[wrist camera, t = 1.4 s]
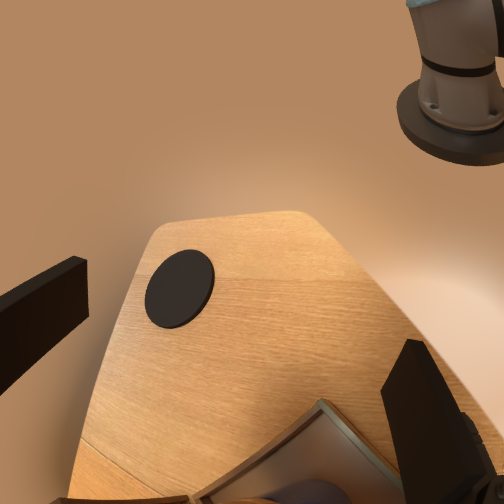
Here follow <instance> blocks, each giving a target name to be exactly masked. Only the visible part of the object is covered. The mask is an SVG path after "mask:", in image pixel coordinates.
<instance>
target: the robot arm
mask: <svg viewBox="0 0 504 504" xmlns="http://www.w3.org/2000/svg"><path fill="white" fill-rule="evenodd" d="M406 5H407V7H408V8H409V11H410V14H411V18H412V21H413V25H414V29H415V32H416V36H417V40H418V44H419V48H420V53H421V58H422V63H423V65H422V71H421V77H420V83H419V89H418V102H419V108H420V110H421V112H422V114H423V115H424V117H425V118H426V119H427V120H429V121H430V122H431V123H433V124H434V125H436V126H438V127H440V128H442V129H444V130H447V131H450V132H453V133H457V134H463V135H485V134H489V133H492V132H495V131H497V130H498V129H500V128H501V127H502V126H503V125H504V92H503V90H502V86H501V83H500V80H499V77H498V75H497V72H496V65H495V56H497V57H503V58H504V0H406ZM88 317H89V309H88V282H87V260H86V259H83V258H80V257H77V256H72V257H70V258H68V259H66V260H64V261H62V262H61V263H59V264H57V265H55V266H53V267H51V268H50V269H48V270H46V271H44V272H42V273H40V274H38V275H36V276H35V277H33V278H31V279H29V280H28V281H26V282H24V283H22V284H20V285H19V286H17V287H15V288H13V289H12V290H10V291H8V292H7V293H5V294H3V295H2V296H0V396H1V395H2V394H3V393H4V392H5V391H6V390H7V389H8V388H9V387H10V386H11V385H12V384H13V383H14V382H15V381H16V380H17V379H19V378H20V377H21V376H22V375H23V374H24V373H25V372H26V371H27V370H28V369H30V368H31V367H32V366H33V365H34V364H35V363H36V362H37V361H38V360H39V359H41V358H42V357H43V356H44V355H45V354H46V353H47V352H48V351H49V350H51V349H52V348H53V347H54V346H55V345H56V344H58V343H59V342H60V341H61V340H62V339H63V338H64V337H66V336H67V335H68V334H69V333H70V332H71V331H72V330H74V328H76V327H77V326H78V325H79V324H81V323H82V322H83V321H84V320H85V319H86V318H88ZM380 392H381V396H382V399H383V403H384V407H385V411H386V415H387V419H388V422H389V426H390V431H391V435H392V439H393V443H394V447H395V452H396V456H397V461H398V465H399V470H400V475H401V480H402V485H403V490H404V495H405V501H406V504H504V475H497V473H496V471H495V468H494V466H493V464H492V461H491V459H490V457H489V454H488V452H487V450H486V448H485V446H484V444H482V442H483V441H482V439H481V437H480V435H478V431H477V429H476V426H475V424H474V422H473V421H472V420H471V419H470V418H469V417H468V416H467V415H466V413H465V412H460V410H459V407H458V405H457V403H456V401H455V399H454V397H453V395H452V394H451V392H450V390H449V388H448V386H447V384H446V382H445V380H444V378H443V376H442V374H441V373H440V371H439V369H438V367H437V365H436V363H435V362H434V360H433V358H432V356H431V354H430V353H429V351H428V349H427V347H426V346H425V344H424V342H423V341H418V340H413V339H407V340H406V342H405V344H404V347H403V349H402V351H401V353H400V355H399V357H398V359H397V361H396V363H395V365H394V366H393V368H392V370H391V372H390V374H389V376H388V378H387V380H386V381H385V383H384V385H383V387H382V389H381V390H380Z"/></svg>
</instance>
